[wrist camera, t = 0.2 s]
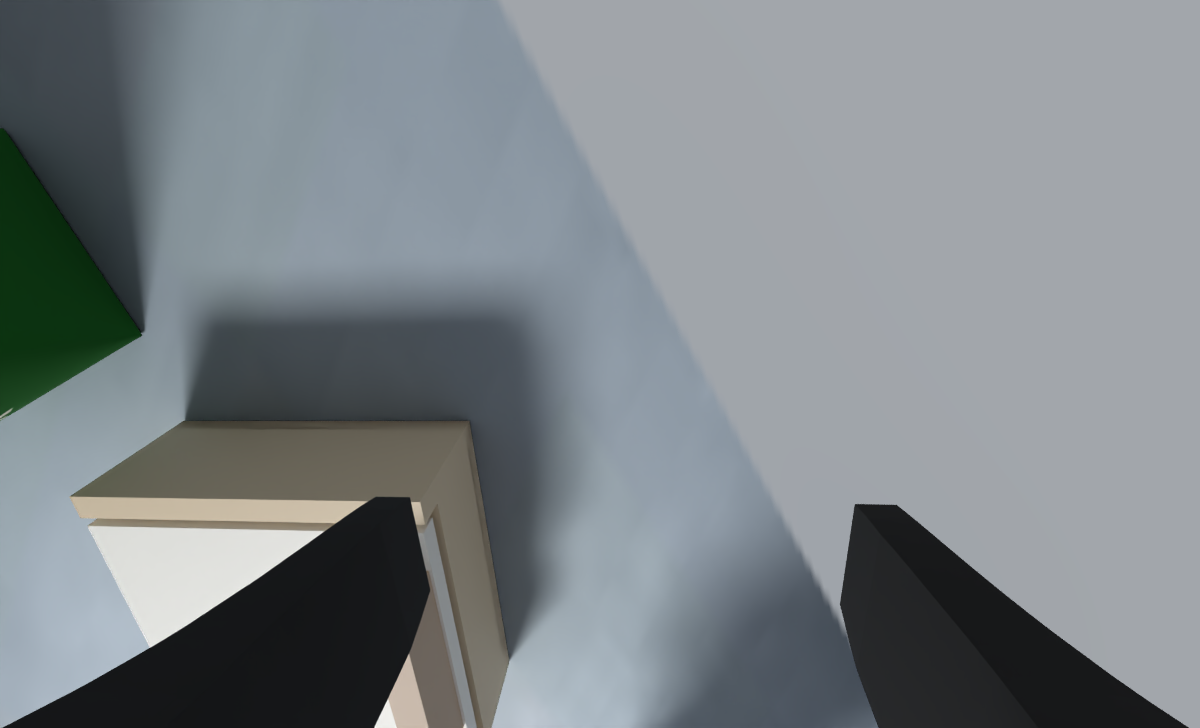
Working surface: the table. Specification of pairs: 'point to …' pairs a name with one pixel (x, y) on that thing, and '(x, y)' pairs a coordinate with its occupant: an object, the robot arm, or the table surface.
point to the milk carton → (47, 293)
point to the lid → (243, 554)
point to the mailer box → (329, 501)
